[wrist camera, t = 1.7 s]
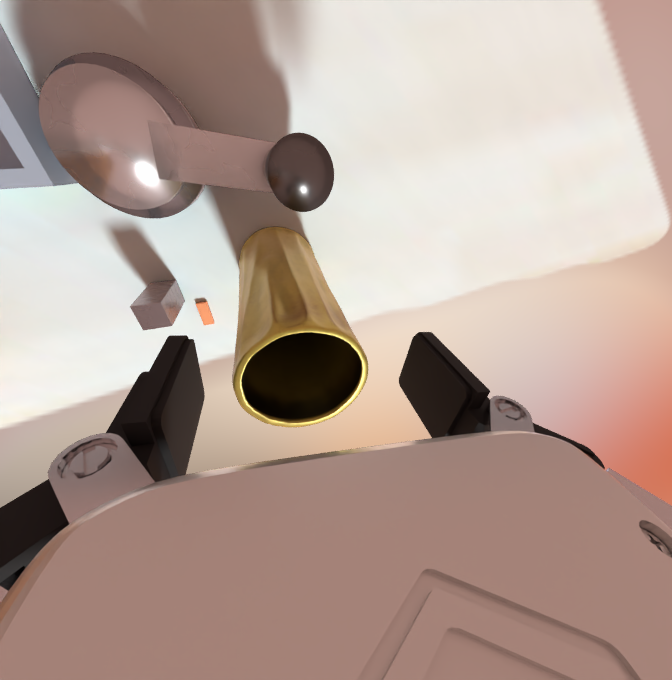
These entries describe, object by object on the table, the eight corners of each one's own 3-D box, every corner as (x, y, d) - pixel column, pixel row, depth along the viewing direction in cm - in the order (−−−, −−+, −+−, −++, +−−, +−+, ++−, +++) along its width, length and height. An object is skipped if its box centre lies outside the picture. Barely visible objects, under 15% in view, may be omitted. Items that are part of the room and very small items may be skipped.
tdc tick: (204, 323, 22) (204, 325, 22) (196, 302, 21) (195, 304, 21) (214, 321, 23) (213, 323, 22) (206, 301, 21) (206, 302, 21)
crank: (84, 200, 14) (-58, 232, 8) (34, 57, 11) (-264, -85, 5) (304, 221, 18) (332, 255, 11) (310, 115, 15) (353, 79, 8)
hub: (109, 217, 17) (94, 223, 15) (33, 64, 13) (1, 50, 11) (221, 208, 18) (218, 212, 17) (184, 66, 14) (175, 54, 13)
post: (160, 304, 21) (143, 330, 17) (150, 283, 20) (129, 306, 16) (184, 300, 21) (172, 325, 18) (176, 279, 20) (160, 302, 17)
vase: (231, 227, 19) (196, 326, 8) (313, 224, 20) (389, 304, 9) (247, 303, 22) (238, 448, 11) (316, 296, 24) (373, 419, 12)
